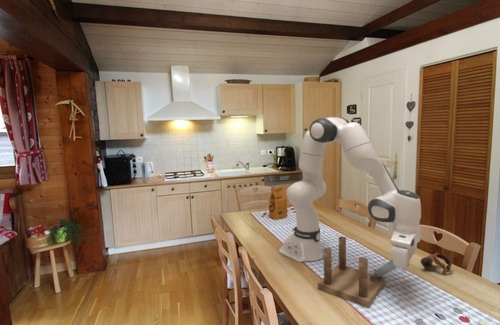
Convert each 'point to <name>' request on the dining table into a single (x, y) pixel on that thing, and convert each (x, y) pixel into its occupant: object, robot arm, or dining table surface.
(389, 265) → the hinged leg
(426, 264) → the pottery mug
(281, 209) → the coffee package
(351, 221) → the dining table surface
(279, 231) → the dining table surface
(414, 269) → the dining table surface
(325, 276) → the stool seat
